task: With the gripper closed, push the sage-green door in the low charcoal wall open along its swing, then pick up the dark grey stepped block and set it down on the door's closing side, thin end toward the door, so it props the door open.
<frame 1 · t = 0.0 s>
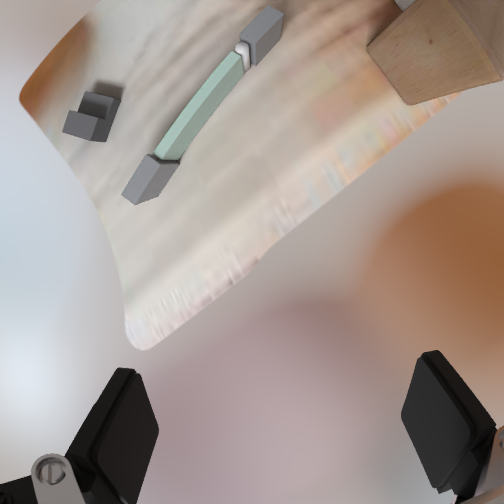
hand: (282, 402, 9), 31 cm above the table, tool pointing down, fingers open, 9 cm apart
door frame: (210, 109, 35), on the table
dark grey stepped block: (99, 117, 35), on the table
door: (206, 102, 31), point 4 cm above the table, hinge at 0.0°
wooden block: (407, 64, 32), on the table
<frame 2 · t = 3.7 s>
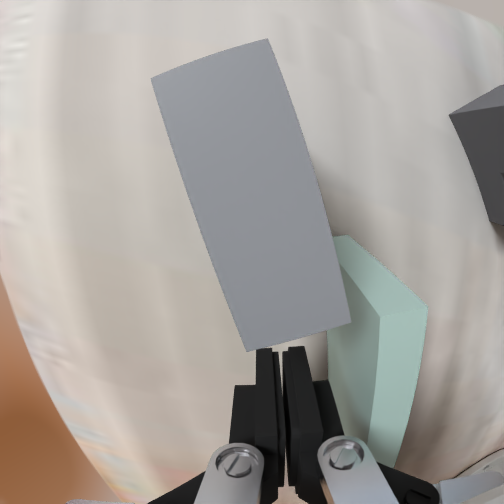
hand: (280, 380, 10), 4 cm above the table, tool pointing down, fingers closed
door frame: (317, 377, 15), on the table
dark grey stepped block: (497, 150, 12), on the table
door: (354, 425, 11), point 4 cm above the table, hinge at 9.3°, touching gripper
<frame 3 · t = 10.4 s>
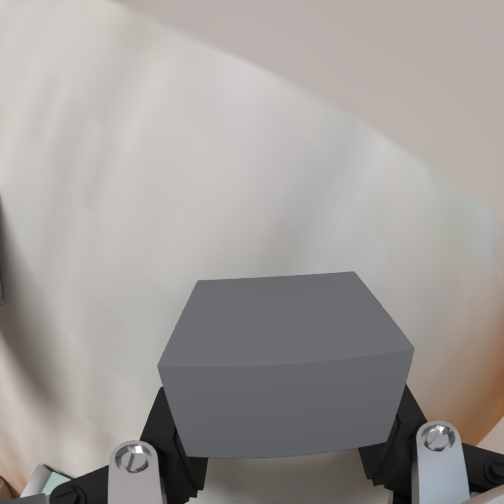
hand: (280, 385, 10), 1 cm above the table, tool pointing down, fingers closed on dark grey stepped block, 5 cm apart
dark grey stepped block: (279, 355, 10), on the table, touching gripper
when the fingers open (2 cm above the table, at t = 16.2 s): dark grey stepped block drops 1 cm, on the table.
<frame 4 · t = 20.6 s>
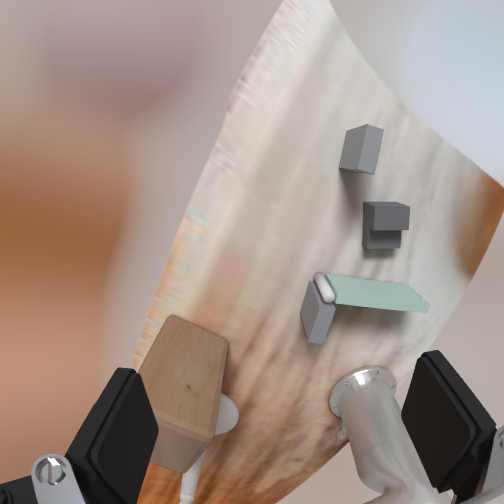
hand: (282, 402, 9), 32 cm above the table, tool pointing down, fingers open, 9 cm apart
candlestick: (203, 411, 50), on the table
door frame: (331, 227, 40), on the table
dark grey stepped block: (379, 223, 40), on the table
door: (371, 292, 39), point 4 cm above the table, hinge at 87.0°
wooden block: (189, 347, 46), on the table
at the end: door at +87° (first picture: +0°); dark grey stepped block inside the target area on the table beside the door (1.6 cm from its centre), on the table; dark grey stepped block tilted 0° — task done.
